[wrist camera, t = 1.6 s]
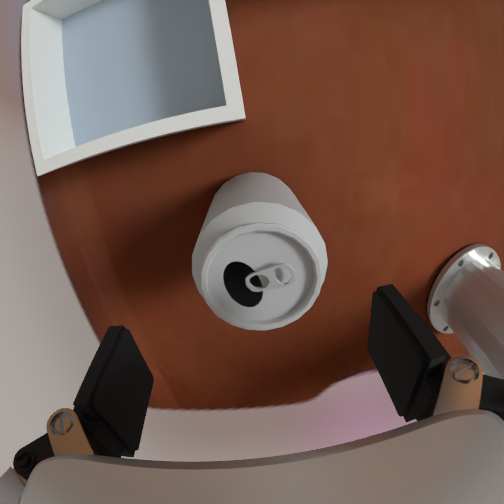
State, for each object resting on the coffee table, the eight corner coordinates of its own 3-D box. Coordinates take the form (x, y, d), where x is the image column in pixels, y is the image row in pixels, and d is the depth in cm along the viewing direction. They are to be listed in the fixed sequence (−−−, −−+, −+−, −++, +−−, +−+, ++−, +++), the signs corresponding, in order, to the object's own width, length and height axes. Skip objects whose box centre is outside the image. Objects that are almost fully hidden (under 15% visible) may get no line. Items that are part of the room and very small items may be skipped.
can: (196, 191, 24) (158, 249, 14) (278, 156, 23) (309, 186, 13) (232, 264, 27) (226, 357, 16) (308, 234, 26) (350, 313, 15)
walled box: (217, -37, 15) (211, -71, 10) (245, 120, 22) (245, 118, 17) (57, 18, 16) (23, 5, 11) (74, 163, 23) (37, 176, 17)
